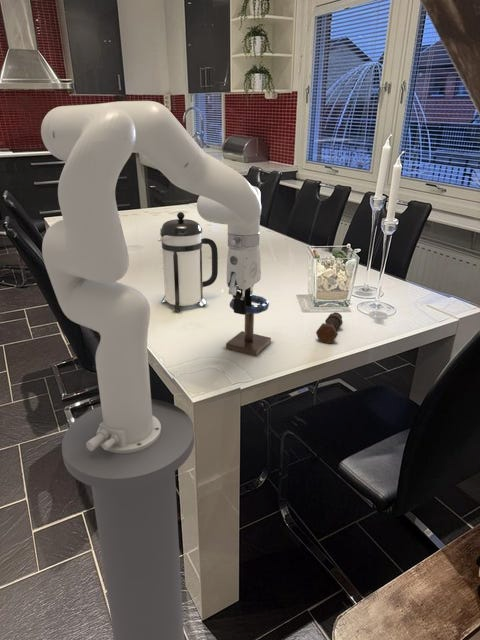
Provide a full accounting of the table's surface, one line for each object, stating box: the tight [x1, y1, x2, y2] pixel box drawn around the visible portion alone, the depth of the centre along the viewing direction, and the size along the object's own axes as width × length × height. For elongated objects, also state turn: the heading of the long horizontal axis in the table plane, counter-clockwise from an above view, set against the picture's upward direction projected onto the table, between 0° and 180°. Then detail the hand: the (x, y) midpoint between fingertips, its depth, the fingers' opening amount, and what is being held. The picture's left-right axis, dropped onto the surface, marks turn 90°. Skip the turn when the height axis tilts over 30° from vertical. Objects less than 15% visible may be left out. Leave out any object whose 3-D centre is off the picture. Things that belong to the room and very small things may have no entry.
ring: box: [229, 294, 270, 315], centre depth 121 cm, size 10×10×2 cm
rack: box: [225, 304, 272, 357], centre depth 123 cm, size 9×9×12 cm
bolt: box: [315, 311, 344, 344], centre depth 133 cm, size 6×5×15 cm
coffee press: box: [157, 211, 219, 313], centre depth 148 cm, size 17×16×30 cm
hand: (242, 310), depth 118 cm, fingers closed on ring, 2 cm apart
